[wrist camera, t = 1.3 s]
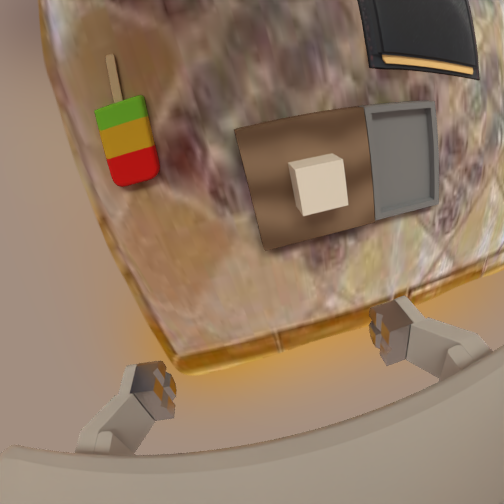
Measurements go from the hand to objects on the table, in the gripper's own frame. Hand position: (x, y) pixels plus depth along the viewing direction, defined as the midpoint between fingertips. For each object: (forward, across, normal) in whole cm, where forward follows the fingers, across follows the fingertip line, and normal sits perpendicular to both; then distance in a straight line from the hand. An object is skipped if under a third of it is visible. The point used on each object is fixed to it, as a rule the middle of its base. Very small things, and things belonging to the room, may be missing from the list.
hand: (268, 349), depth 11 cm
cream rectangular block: (+23, -8, +1) cm, 25 cm away
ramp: (+25, -8, 0) cm, 27 cm away
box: (+25, -21, 0) cm, 33 cm away
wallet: (+25, -28, -18) cm, 42 cm away
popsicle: (+25, +10, -12) cm, 29 cm away
